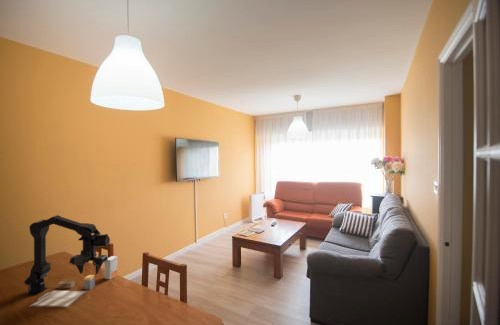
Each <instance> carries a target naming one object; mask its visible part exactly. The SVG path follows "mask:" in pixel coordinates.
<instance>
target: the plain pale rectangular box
mask: <svg viewBox="0 0 500 325" xmlns="http://www.w3.org/2000/svg"><path fill="white" fill-rule="evenodd" d="M75 285H76V284H75V280H61V281H60V282H59V283H57V290H61V289H62V290H63V289H72V288H73V287H74V286H75Z"/></svg>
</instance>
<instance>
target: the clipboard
mask: <svg viewBox="0 0 500 325" xmlns="http://www.w3.org/2000/svg"><path fill="white" fill-rule="evenodd" d="M88 291H89V290H71V289H70V290H68V289H67V290H65V289H64V290H63V289H62V290H61V289H53V290H52V291H50V292H47V293H45V294H43V295H42V296H40V297H39V298H37V299H36V301H34V302H33V303H32V304H30V305H28V307H29V308H52V309H53V308H55V309H56V308H58V309H59V308H60V309H61V308H62V309H68V308H69V307H71V305H73V304H74V303H75V302H77V301H78V300H79V299H80V298H81V297H83V296H84V295H85V294H87V293H88Z"/></svg>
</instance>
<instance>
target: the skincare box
mask: <svg viewBox="0 0 500 325" xmlns="http://www.w3.org/2000/svg"><path fill="white" fill-rule="evenodd" d="M117 275H118V256H115V255H111V256H109V257H108V260H106V261H105V262H104V279H105V280H112V279H113V278H114V277H116V276H117Z"/></svg>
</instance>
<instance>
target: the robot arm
mask: <svg viewBox="0 0 500 325" xmlns="http://www.w3.org/2000/svg"><path fill="white" fill-rule="evenodd" d="M52 225H56V226H59V227H61V228H65V229H68V230H71V231H74V232H76V233H77V234H78V235H80V237H79V238H78V241H82V250H80V254H76V255H73V256H72V257H70V259H69V264H71V265H73V266H75V267H76V268H77V270H78V272H79V274H81V275H82V274H83V272H84V266H85V264H86V263H87V264H88V263H89V262H94V264H93V266H95V274H96V275H97V274H99V272H100V271H101V270H100V269H101V267H102V265H103V264H104V263H105V261H106V260H108V258H109V257H108V255H106V254H100V255H99V256H97V253H96V251H95V250H96V249H97V248H101V247H108V246H109V245H110V242H111V239H110V236H109V234H108V233H105V234H102V233H101V232H100V231H99V230H98V228H97V226H96V225H95V224H93V223H86V222H85V223H83V222H82V223H81V222H79V221H75V220H72V219H69V218H65V217H62V216H61V215H54V216H52V217H49V218H47V219H40V220H38V221H35V222H33V223H31V224H30V225H29V227H28V228H29V233H30V235H31V236H32V237H33V264H32V266H31V267H30V268H31V269H30V270H29V271H30V273H29V276H28V277H27V278H26V279H25V280H24V281H23V282H24V285H25V286H27V288H28V291H27V292H25V295H31V296H33V295H35V296H37V295H38V294H40V293H41V292H43V291H45V290H47V289H48V287H47V286H46V285H45V284H46V283H45V277H47V275H48V273H49V272H51V269H52V267H51V265H52V264H51V263H52V262H48V261H47V257H46V253H47V251H46V246H47V245H46V243H47V242H46V241H47V238H46V236H47V235H48V232H49V230H50V226H52Z"/></svg>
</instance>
